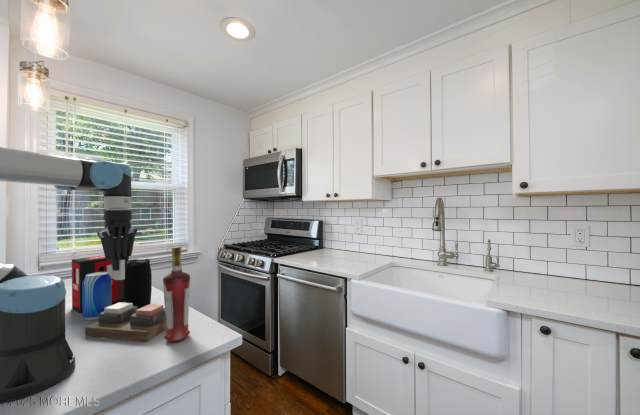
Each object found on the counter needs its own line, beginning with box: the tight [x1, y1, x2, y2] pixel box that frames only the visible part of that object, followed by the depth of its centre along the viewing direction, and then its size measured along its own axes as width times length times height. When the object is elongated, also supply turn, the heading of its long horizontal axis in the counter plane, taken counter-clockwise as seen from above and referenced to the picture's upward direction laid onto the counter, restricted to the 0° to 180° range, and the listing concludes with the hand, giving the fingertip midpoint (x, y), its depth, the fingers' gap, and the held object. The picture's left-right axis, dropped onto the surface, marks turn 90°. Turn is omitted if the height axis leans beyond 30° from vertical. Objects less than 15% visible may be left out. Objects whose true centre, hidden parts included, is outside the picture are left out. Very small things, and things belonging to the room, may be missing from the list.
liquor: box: [162, 246, 191, 343], centre depth 82 cm, size 7×7×28 cm
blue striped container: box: [82, 272, 112, 321], centre depth 100 cm, size 8×8×16 cm
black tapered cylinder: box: [124, 258, 153, 309], centre depth 107 cm, size 9×9×20 cm
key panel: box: [84, 306, 166, 343], centre depth 89 cm, size 14×22×6 cm, turn 80°
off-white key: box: [104, 302, 133, 314], centre depth 90 cm, size 5×5×2 cm
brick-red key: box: [136, 303, 164, 316], centre depth 88 cm, size 5×5×2 cm
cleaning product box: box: [71, 254, 130, 314], centre depth 113 cm, size 16×9×20 cm, turn 148°
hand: (119, 279), depth 90 cm, fingers closed
